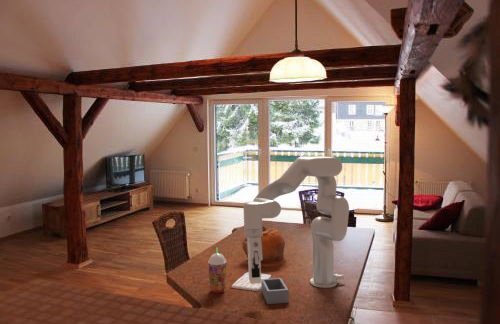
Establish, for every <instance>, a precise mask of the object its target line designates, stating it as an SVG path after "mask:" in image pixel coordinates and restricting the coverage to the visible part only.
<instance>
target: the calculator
mask: <svg viewBox="0 0 500 324" xmlns="http://www.w3.org/2000/svg"><path fill="white" fill-rule="evenodd" d="M261 279H272V275H271V274H269V273H268V274H267V273H261ZM231 289H237V290H238V289H239V290H245V291H251V290H252V292H258V291H260V290H262V283H255V284H250V281H249V271H247V272H246V271H245V273H244V274H243V275H242V276H240V277H239V278H238V279H237V280H236V281H235V282H234V283H233V284H232V285H231Z"/></svg>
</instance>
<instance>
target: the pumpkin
mask: <svg viewBox="0 0 500 324" xmlns="http://www.w3.org/2000/svg"><path fill="white" fill-rule="evenodd" d="M262 232H263V235H262V236H261V244H262V258H263V260H262V261H261V267H265V268H267V267H268V268H269V267H276V266H281V265H283V264H285V263H286V261H287V259H286V257H285V255H284V252H285V245H286V242H285V239H284V236H283V235H282V233H281V232H280V231H279V230H278V229H277V228H276V227H274V226H272V227H271V228H269V229H267V228H266V227H265V226H264V225H263V224H262ZM244 237H245V236H244ZM241 244H242V250H243V252H244V254H245V255H246V258H247V259H248V248H247V237H245V238H244V239H243V240H242V243H241Z"/></svg>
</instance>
